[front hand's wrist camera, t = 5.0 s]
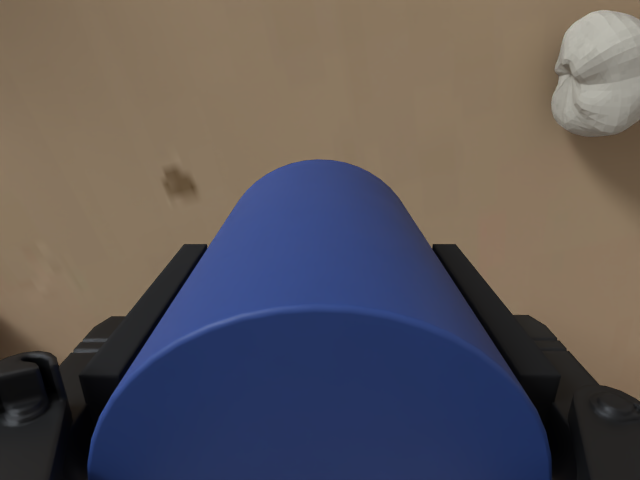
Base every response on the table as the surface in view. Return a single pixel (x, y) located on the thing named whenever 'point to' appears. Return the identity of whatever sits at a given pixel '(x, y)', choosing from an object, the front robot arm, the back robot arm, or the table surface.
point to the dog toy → (599, 75)
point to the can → (319, 354)
